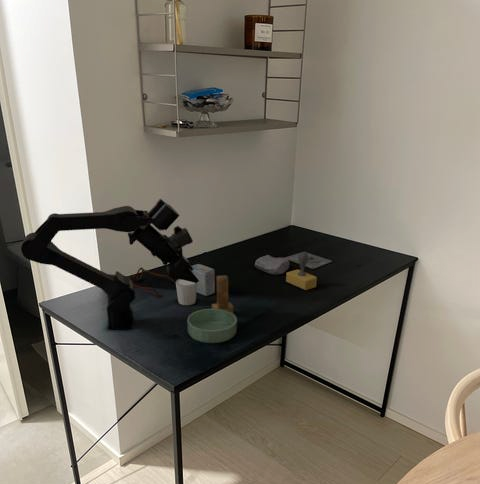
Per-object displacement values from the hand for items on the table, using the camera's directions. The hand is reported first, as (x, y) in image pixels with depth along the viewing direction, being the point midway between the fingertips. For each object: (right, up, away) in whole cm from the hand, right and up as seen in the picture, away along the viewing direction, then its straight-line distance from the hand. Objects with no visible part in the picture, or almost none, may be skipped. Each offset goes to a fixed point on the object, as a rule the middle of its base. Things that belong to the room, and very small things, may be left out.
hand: (194, 275), depth 144 cm
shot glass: (-4, -7, +16) cm, 18 cm away
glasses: (-18, -2, +26) cm, 32 cm away
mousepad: (+46, +10, +53) cm, 70 cm away
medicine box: (0, -3, +24) cm, 24 cm away
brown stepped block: (+8, -11, +8) cm, 16 cm away
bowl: (+5, -16, -2) cm, 17 cm away
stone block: (+25, +6, +44) cm, 51 cm away
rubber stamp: (+35, 0, +31) cm, 47 cm away
